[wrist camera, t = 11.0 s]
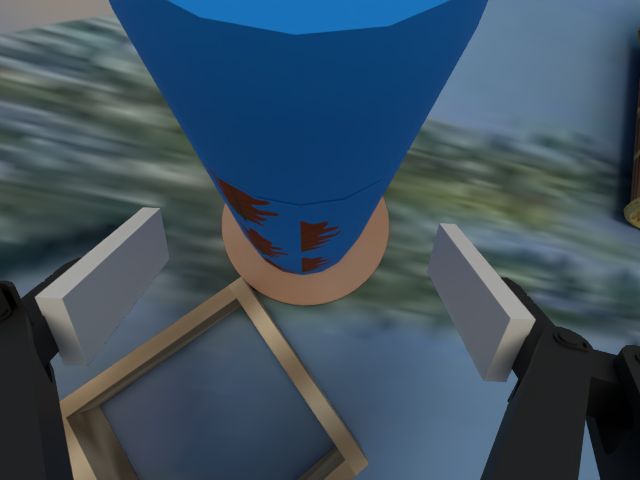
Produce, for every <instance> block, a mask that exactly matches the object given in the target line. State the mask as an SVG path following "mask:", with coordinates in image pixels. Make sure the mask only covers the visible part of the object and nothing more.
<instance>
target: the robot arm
mask: <svg viewBox="0 0 640 480" xmlns="http://www.w3.org/2000/svg"><path fill="white" fill-rule="evenodd" d="M168 260H169V254H168V248H167V243H166V238H165V232H164V227H163V221H162V216H161V210H160V208H144V207H143V208H142V209H141V210H140V211H138V212H137V213H136V214H135V215H134V216H132V217H131V218H130V219H129V220H128V221H126V222H125V223H124V224H123V225H122V226H120V227H119V228H118V229H117V230H115V231H114V232H113V233H112V234H111V235H109V236H108V237H107V238H106V239H105V240H103V241H102V242H101V243H100V244H99V245H97V246H96V247H95V248H94V249H92V250H91V251H90V252H89V253H88V254H86V255H85V256H84V257H83V258H77V259H75V260H73V261H71V262H68V263H66V264H64V265H63V266H62V267H60V268H59V269H58V270H56V271H55V272H54V273H53V275H50V276H49V277H48V278H46V279H45V281H44V282H41V283H40V284H39V285H38V286H36V287H35V288H34V289H33V290H31V291H30V292H29V293H27V294H26V295H25V296H24V297H22V298H20V296H19V294H18V292H17V290H16V287H15V286H14V284H13V283H12V282H9V281H0V480H74V478H73V473H72V467H71V462H70V456H69V451H68V446H67V440H66V435H65V429H64V424H63V419H62V413H61V408H60V402H59V397H58V392H57V386H56V381H55V375H54V370H53V367H52V365H51V363H50V360H51V359H52V358H53V357H54V356H55V355H56V354H57V353H58V352H59V354H60V356H61V358H62V361H63V363H64V365H84V366H88V365H89V364H90V363H91V361H92V360H93V359H94V357H95V356H96V355H97V354H98V352H99V351H100V350H101V348H102V347H103V346H104V344H105V343H106V342H107V340H108V339H109V338H110V336H111V335H112V334H113V332H114V331H115V330H116V329H117V327H118V326H119V325H120V323H121V322H122V321H123V319H124V318H125V317H126V315H127V314H128V313H129V311H130V310H131V309H132V308H133V306H134V305H135V304H136V302H137V301H138V300H139V298H140V297H141V296H142V294H143V293H144V292H145V290H146V289H147V288H148V286H149V285H150V284H151V283H152V281H153V280H154V279H155V277H156V276H157V275H158V273H159V272H160V271H161V269H162V268H163V267H164V265H165V264H166V263H167V262H168ZM427 272H428V274H429V276H430V278H431V280H432V282H433V284H434V286H435V288H436V290H437V292H438V294H439V296H440V297H441V299H442V301H443V303H444V305H445V307H446V309H447V311H448V313H449V315H450V317H451V319H452V321H453V323H454V325H455V327H456V328H457V330H458V332H459V334H460V336H461V338H462V340H463V342H464V344H465V346H466V348H467V350H468V352H469V354H470V356H471V357H472V359H473V361H474V363H475V365H476V367H477V369H478V371H479V373H480V375H481V377H482V379H483V381H497V382H506V380H507V378H508V376H509V374H510V372H511V370H513V371H514V373H515V374H516V376H517V378H518V381H517V383H516V385H515V387H514V389H513V391H512V393H511V395H510V397H509V399H508V401H507V402H509V403H508V406H507V409H506V412H505V414H504V417H503V420H502V422H501V425H500V428H499V430H498V433H497V436H496V439H495V441H494V444H493V447H492V449H491V452H490V455H489V457H488V460H487V463H486V466H485V468H484V471H483V474H482V476H481V479H480V480H578V476H579V468H580V460H581V452H582V444H583V435H584V427H585V419H586V422H587V426H588V430H589V434H590V438H591V443H592V447H593V451H594V455H595V459H596V463H597V467H598V472H599V476H600V480H640V346H636V345H626V346H625V347H623V348H622V349H621V351H620V352H619V354H618V355H614V354H610V353H606V352H602V351H598V350H594V349H593V348H592V346H591V345H590V344H589V342H588V341H587V340H586V339H584V338H583V337H582V336H580V335H579V334H577V333H575V332H573V331H571V330H569V329H565V328H562V327H557V326H555V325H554V324H553V323H552V322H551V321H550V319H549V318H548V317H547V316H546V315H545V314H544V313H543V312H542V311H541V309H540V308H539V307H538V306H537V305H536V304H534V303H533V300H532V299H531V298H530V297H529V296H527V294H526V293H525V292H524V290H523V289H522V288H521V287H520V286H519V285H517V284H516V283H514V282H513V281H511V280H510V279H508V278H502V277H499V275H498V274H497V273H496V272H495V271H494V269H493V268H492V267H491V266H490V265H489V264H488V262H487V261H486V260H485V259H484V258H483V256H482V255H481V254H480V253H479V252H478V250H477V249H476V248H475V247H474V246H473V245H472V243H471V242H470V241H469V240H468V239H467V237H466V236H465V235H464V234H463V233H462V231H461V230H460V229H459V228H458V227H457V226H456V224H444V223H439V227H438V231H437V235H436V239H435V243H434V247H433V250H432V254H431V258H430V262H429V266H428V270H427Z"/></svg>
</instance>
